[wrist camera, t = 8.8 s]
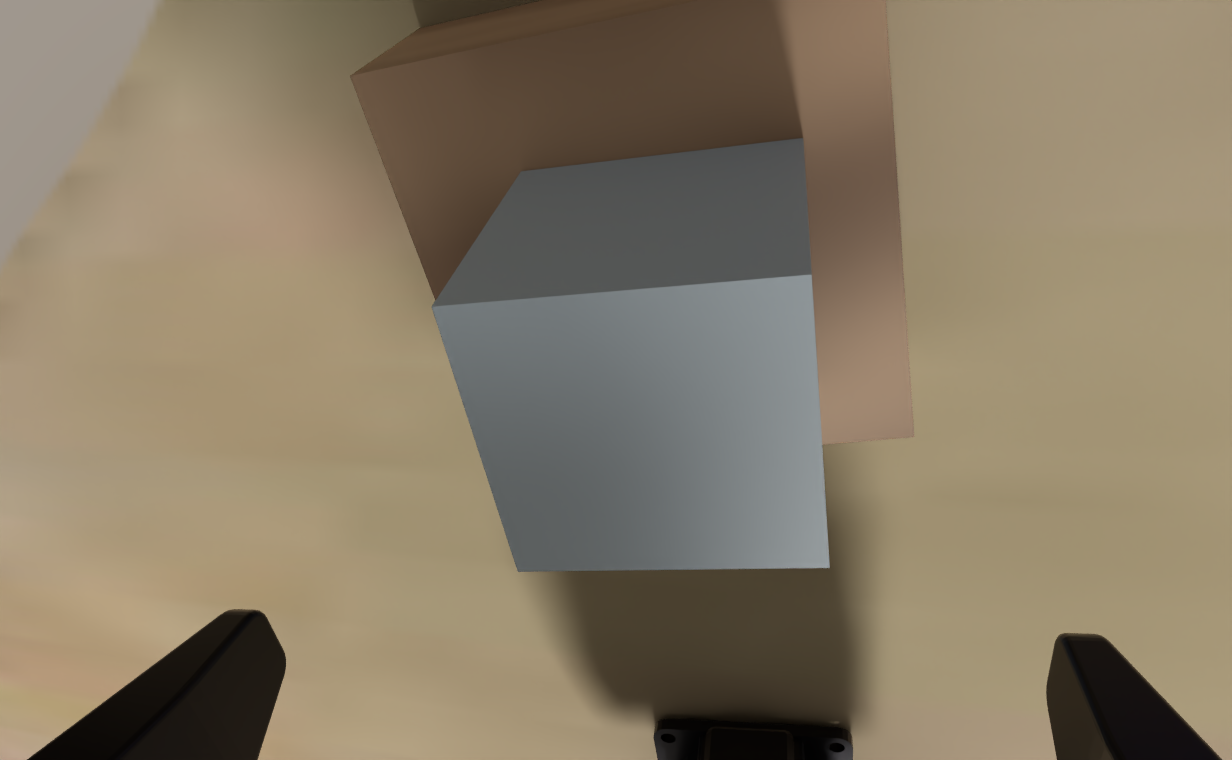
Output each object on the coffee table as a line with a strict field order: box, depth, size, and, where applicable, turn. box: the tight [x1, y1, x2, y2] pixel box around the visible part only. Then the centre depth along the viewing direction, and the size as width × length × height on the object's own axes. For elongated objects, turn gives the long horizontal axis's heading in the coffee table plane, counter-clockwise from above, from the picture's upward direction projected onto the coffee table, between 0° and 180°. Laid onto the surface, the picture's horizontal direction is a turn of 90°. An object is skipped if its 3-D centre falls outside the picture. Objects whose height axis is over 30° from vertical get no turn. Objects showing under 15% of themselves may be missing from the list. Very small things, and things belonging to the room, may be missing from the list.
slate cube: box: [432, 138, 830, 572], centre depth 15 cm, size 5×5×5 cm
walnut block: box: [350, 0, 914, 445], centre depth 18 cm, size 9×9×4 cm
